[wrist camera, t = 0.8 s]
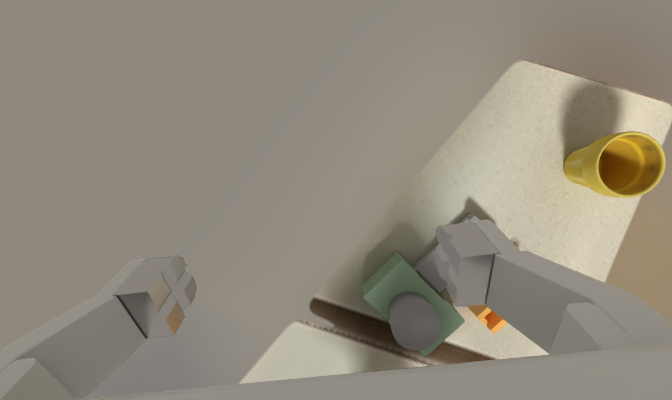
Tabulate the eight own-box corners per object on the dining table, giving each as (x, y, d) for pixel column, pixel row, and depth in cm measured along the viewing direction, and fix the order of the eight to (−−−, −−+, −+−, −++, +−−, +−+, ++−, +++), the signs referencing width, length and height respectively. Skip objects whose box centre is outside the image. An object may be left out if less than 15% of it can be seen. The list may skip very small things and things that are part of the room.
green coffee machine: (509, 253, 56) (548, 272, 45) (417, 339, 58) (432, 376, 47) (452, 197, 55) (477, 202, 44) (361, 285, 58) (364, 310, 47)
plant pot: (549, 192, 54) (592, 195, 45) (555, 138, 53) (601, 129, 44) (605, 195, 54) (661, 199, 44) (612, 140, 53) (671, 132, 43)
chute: (526, 279, 56) (543, 289, 51) (481, 320, 57) (494, 334, 52) (510, 263, 56) (526, 272, 51) (465, 304, 57) (476, 316, 52)
